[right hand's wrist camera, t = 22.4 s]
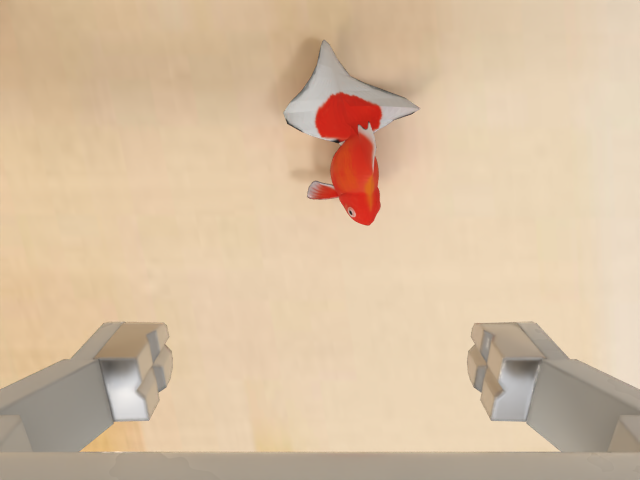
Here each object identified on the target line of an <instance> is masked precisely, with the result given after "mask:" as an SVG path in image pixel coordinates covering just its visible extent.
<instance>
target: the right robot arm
mask: <svg viewBox="0 0 640 480" xmlns="http://www.w3.org/2000/svg"><path fill="white" fill-rule="evenodd" d="M168 338H169V333H168V328H167V325H166V324H165V323H155V322H106V323H103V324H102V325H101V326H100V328H99V329H98V330H97V331H96V332H95V333H94V334H93V335H92V336H91V337H90V338H89V339H88V340H87V342H86V343H85V344H84V345H83V346H82V347H81V348H80V349H79V350H78V351H77V352H76V353H75V354H74V356H73V357H72V358H71V359H63V360H61V361H59V362H57V363H55V364H53V365H51V366H49V367H47V368H44V369H42V370H40V371H38V372H36V373H34V374H32V375H30V376H28V377H25V378H23V379H21V380H19V381H17V382H15V383H13V384H11V385H9V386H6V387H4V388H2V389H0V480H640V389H638V388H635V387H633V386H631V385H629V384H627V383H625V382H623V381H621V380H619V379H617V378H614V377H612V376H610V375H608V374H606V373H604V372H602V371H600V370H598V369H596V368H593V367H591V366H589V365H587V364H585V363H583V362H581V361H579V360H577V359H569V358H568V357H567V356H566V354H565V353H564V352H563V351H562V350H561V349H560V348H559V347H558V346H557V345H556V344H555V343H554V342H553V340H552V339H551V338H550V337H549V336H548V335H547V334H546V333H545V332H544V331H543V330H542V329H541V328H540V326H539V325H538V324H537V323H534V322H509V323H475V324H474V326H473V328H472V332H471V338H472V340H473V341H474V343H475V345H474V346H473V347H472V348H471V349H470V350H469V351H468V358H467V367H468V374H469V377H470V381H471V383H472V385H473V387H474V388H476V389H477V390H478V391H480V392H481V393H482V394H481V402H482V404H483V406H484V408H485V410H486V412H487V414H488V416H489V418H490V420H491V421H522V422H526V423H527V424H528V425H529V426H530V427H532V428H533V429H534V430H535V431H536V432H538V433H539V434H540V435H541V436H543V437H544V438H545V439H546V440H547V441H549V442H550V443H551V444H552V445H554V446H555V447H556V448H557V449H559V450H560V451H561V452H79V451H80V450H82V449H83V448H84V447H85V446H87V445H88V444H89V443H90V442H91V441H93V440H94V439H95V438H96V437H98V436H99V435H100V434H101V433H103V432H104V431H105V430H106V429H107V428H109V427H110V426H111V425H112V424H113V423H114V422H117V421H149V420H150V418H151V416H152V414H153V412H154V410H155V408H156V406H157V404H158V402H159V394H158V393H159V392H160V391H162V390H163V389H164V388H166V387H167V385H168V383H169V380H170V378H171V373H172V369H173V357H172V351H171V350H170V349H169V348H168V347H167V346H166V345H165V343H166V341H167V340H168Z"/></svg>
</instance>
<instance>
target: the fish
mask: <svg viewBox="0 0 640 480" xmlns="http://www.w3.org/2000/svg"><path fill="white" fill-rule="evenodd" d="M419 109H420V108H419V107H418V106H416V105H415V104H413V103H412V102H410V101H409V100H407V99H406V98H404V97H401V96H399V95H396V94H393V93H390V92H388V91H385V90H382V89H380V88H377V87H374V86H371V85H368V84H366V83H363V82H361V81H359V80H357V79H355V78H353V77H351V76H350V75H349V74H348V73H347V71H346V70H345V69H344V67H343V66H342V65H341V63H340V62H339V61H338V59H337V58H336V56H335V54H334V52H333V50H332V48H331V46H330V45H329V43H327V42H326V41H325V40H323V42H322V45H321V48H320V52H319V57H318V62H317V66H316V68H315V70H314V72H313V74H312V76H311V78H310V79H309V81H308V82H307V84H306V85H305V86H304V88H303V89H302V91H301V92H300V93H299V94H298V95H297V96H296V97H295V98H294V99H293V100H292V101H291V102H290V103H289V105H288V106H287V108H286V109H285V111H284V116H285V119H286V121H287V124H289V125H291V126H292V127H294V128H296V129H298V130H299V131H301V132H303V133H306V134H308V135H311V136H313V137H317V138H320V139H324V140H328V141H332V142H336V143H339V144H340V148H339V149H338V150H337V152H336V153H335V155H334V157H333V159H332V163H331V168H330V173H331V179H332V183H333V185H330V184H325V183H321V182H318V181H314V182H312V184H311V185H310V186H309V189H308V195H307V197H308V198H310V199H320V200H323V199H332V198H338V197H339V200H340V202H341V203H342V205H343V206H344V208H345V210H346V211H347V213H348V214H349V216H350V217H351V218H352V219H353V220H354V221H356V222H358V223H360V224H363V225H370V224H371V223H372V222H373V221H374V219H375V217H376V214H377V213H378V211H379V210H380V207H381V204H380V193H379V189H378V187H377V186H378V178H379V171H378V164H377V160H376V157H375V152H376V143H375V137H374V134H373V133H375V132H376V131H378V130H379V129H381V128H383V127H384V126H386V125H388V124H389V123H391V122H392V121H393V120H395V119H398V118H402V117H405V116H408V115H411V114H413V113H414V112H416V111H417V110H419Z"/></svg>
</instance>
